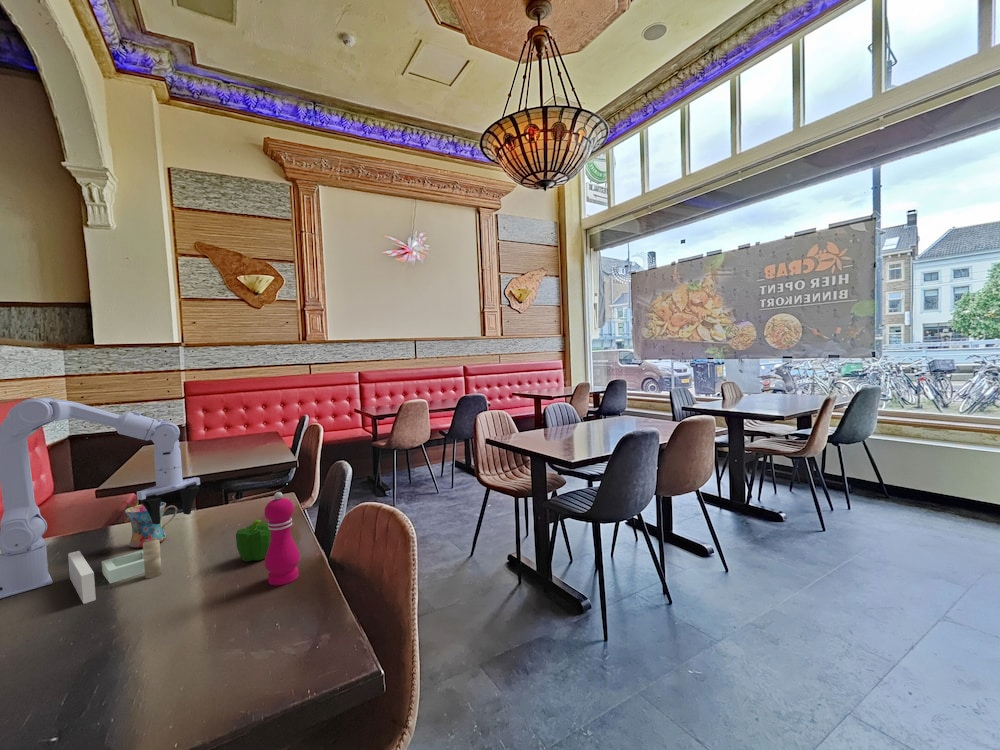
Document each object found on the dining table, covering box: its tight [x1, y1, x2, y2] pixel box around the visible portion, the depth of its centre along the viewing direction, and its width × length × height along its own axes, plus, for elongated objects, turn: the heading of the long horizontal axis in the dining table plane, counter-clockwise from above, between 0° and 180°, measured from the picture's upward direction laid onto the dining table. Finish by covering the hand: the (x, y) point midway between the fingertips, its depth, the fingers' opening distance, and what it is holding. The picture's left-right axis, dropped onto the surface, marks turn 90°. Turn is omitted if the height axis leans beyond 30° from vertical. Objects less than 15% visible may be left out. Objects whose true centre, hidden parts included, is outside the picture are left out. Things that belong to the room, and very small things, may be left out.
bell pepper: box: [235, 519, 271, 563], centre depth 117 cm, size 8×8×10 cm
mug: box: [124, 501, 178, 549], centre depth 132 cm, size 12×9×11 cm
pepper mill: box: [264, 491, 301, 586], centre depth 104 cm, size 7×7×20 cm
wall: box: [67, 550, 97, 605], centre depth 104 cm, size 2×20×6 cm, turn 49°
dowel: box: [142, 540, 163, 579], centre depth 109 cm, size 3×3×8 cm
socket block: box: [101, 549, 145, 584], centre depth 112 cm, size 9×9×3 cm
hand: (172, 518), depth 121 cm, fingers open, 7 cm apart
